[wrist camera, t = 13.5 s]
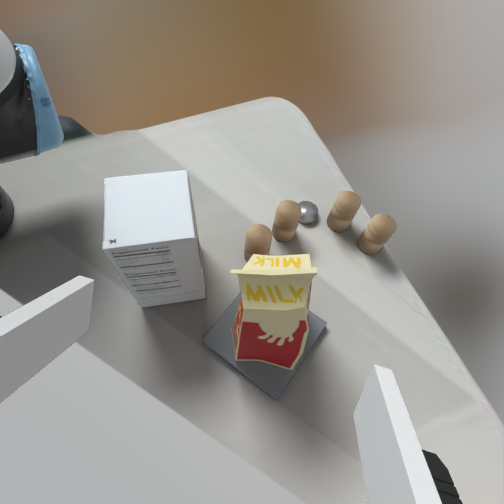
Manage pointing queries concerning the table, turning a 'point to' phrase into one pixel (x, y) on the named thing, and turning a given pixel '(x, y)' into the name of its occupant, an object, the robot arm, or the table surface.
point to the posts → (337, 221)
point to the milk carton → (273, 309)
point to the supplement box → (154, 237)
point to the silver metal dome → (308, 212)
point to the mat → (257, 371)
